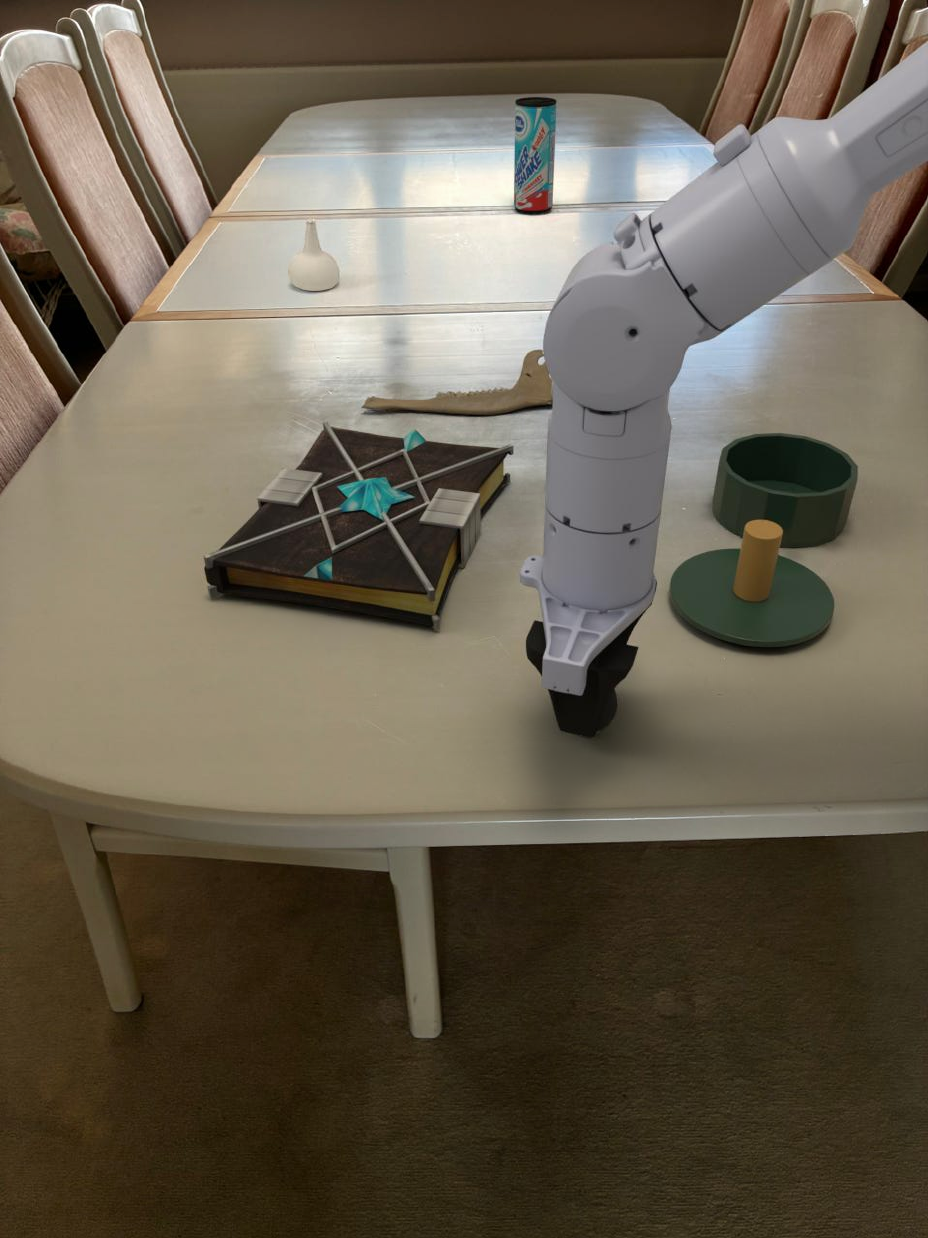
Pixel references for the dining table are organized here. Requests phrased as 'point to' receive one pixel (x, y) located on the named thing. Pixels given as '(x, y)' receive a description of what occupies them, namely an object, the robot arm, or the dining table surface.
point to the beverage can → (534, 154)
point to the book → (364, 526)
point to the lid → (752, 592)
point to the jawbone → (483, 395)
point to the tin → (785, 487)
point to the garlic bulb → (313, 264)
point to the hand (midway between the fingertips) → (586, 707)
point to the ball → (609, 711)
